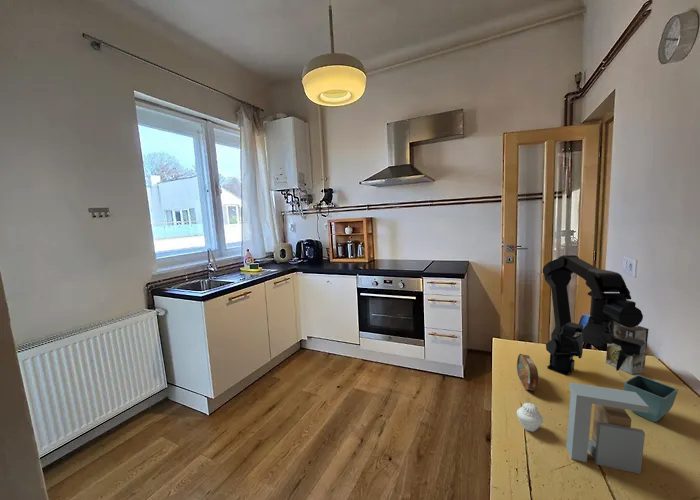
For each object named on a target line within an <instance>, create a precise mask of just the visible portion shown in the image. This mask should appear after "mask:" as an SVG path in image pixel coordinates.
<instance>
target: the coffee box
mask: <svg viewBox="0 0 700 500" xmlns="http://www.w3.org/2000/svg"><path fill="white" fill-rule="evenodd" d="M649 330H650V329H649V328H647V327H644V326H640V325H637V326H635V327H625V326H623V325H621V324H619V323H617V322H615V326H614V331H615V333H614V337H616V338H620V339H625V338H626V337H627V336H628V337H632V338H636V339H640V340H643V341H644V342H645V344H646V345H645V350H644V351H643V352H642V353H641V354H640V355H634V356H628V357H627V358H626V360H625V362H624V363H623V365H622V366H621V368H620V369H619V370H622V371H624V372H625V373H628V374H631V375H636V374H641V373H644V372H645V367H646V356H647V347H648V339H649V338H648V337H649ZM606 344H607V345H606V355H605V357H606V358H605V363H606V364H609V365H610V366H612V367H615V368H616V366H617V362H618V358H619V351H620V350H621V346H620V345H617V344H613V343H612V344H608V343H606Z"/></svg>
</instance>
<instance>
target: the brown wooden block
mask: <svg viewBox="0 0 700 500" xmlns="http://www.w3.org/2000/svg"><path fill="white" fill-rule="evenodd" d="M592 420H593V422H592V430H591V431H592V433H591V440H593V441H595V442H596V441H597V430H598V422H603V423H608V424H614V425H619V426H625V427H630V428H632V427H631V426H632V418H631V417H630V415H629V414H628V413H627V411H626V409H621V408H615V407H609V406H603V405H597V404H594V412H593V419H592Z"/></svg>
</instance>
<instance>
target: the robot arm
mask: <svg viewBox="0 0 700 500" xmlns="http://www.w3.org/2000/svg"><path fill="white" fill-rule="evenodd" d="M542 274H543V276H544V280H545V282H546V283H547V285H548V286H549V287H550V288H551V298H552V307H553V315H554V325H555V327H554V329H553V331H552V332H551V334H550V335H551V337H550V338H551V339H550V340H549V341H548V342H547V343H545V349H546V352H548V353H549V365H547V366H546V367H547V369H548V370H552V371H554V372H557V373H559V374H562V375H565V376H568V375H569V374H571V373H572V372H574V371H575V359H574V357H578V359H582V356H583V349H584V343H585V344H589V345H593V346H595V347H597V348H598V347H603V346H604V344H605V345H606V344H607V343H608V344H612V343H613V344H617V345H620V346H621V350H620V351H619V358H618V362H617V366H616V367H615V369H616V370H615V371H617V372H618V371H620V370H621V369H620V368H621V366H622V365H623V363H624V362H625V360H626V358H627V357H628V356H634V355H640V354H641V353H642V352H643V351H644V350H645V345H646V344H645V342H644V341H643V340H640V339H636V338H632V337H628V336H627V337H626V338H625V339H620V338H616V337H614V333H615V331H614V326H615V322H617V323H619V324H621V325H623V326H625V327H635V326H637V325H638V326H640V324H641V323H642V322H643V319H644V315H643V312H642V311H641V309H639V308H638V307H636V305H637V303H636V301H632V296H631V292H630V290H629V289H628V286H627V285H626V282H625V279H624V277H623V276H622V275H621V274H620V273H618V272H616V271H612V270H606V269H601V268H598V267H596V266H594V265H592V264H591V263H589V262H587V261H585V260H583V259H581V258H579V256H577V255H573V254H570V255H569V254H567V255H566V254H565V255H560V256H559V257H558V258H557V259H553V260H550V261H548V262H547V263H546V264H545V265H544V266H543V267H542ZM572 274H575V275H577V276H579V278H581V279H583V280H584V281H585V285H586V287H588V288H589V289H590V291H589V292H587V296H590V297H591V303H590V313H589V317H588V318H587V323H586V325H585V326H583V324H581V323H575V322H572V317H571V316H572V315H571V308H570V300H569V293H568V292H569V291H568V286H569V284H570V282H571V280H572Z"/></svg>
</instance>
